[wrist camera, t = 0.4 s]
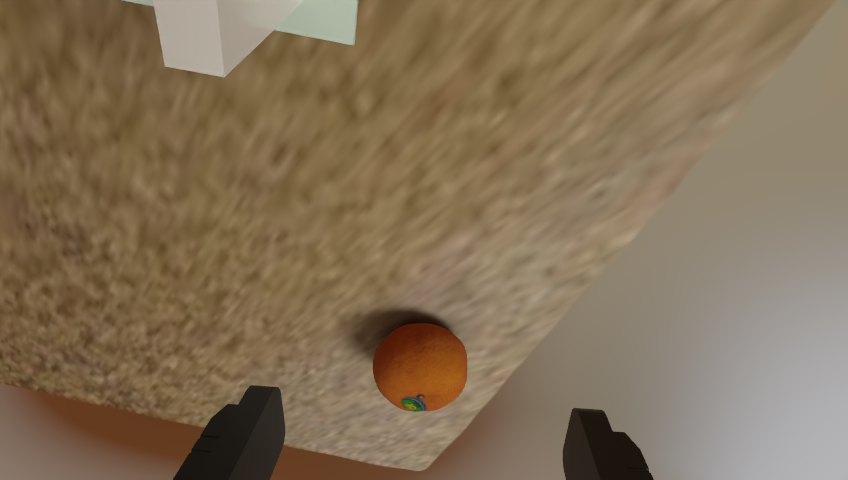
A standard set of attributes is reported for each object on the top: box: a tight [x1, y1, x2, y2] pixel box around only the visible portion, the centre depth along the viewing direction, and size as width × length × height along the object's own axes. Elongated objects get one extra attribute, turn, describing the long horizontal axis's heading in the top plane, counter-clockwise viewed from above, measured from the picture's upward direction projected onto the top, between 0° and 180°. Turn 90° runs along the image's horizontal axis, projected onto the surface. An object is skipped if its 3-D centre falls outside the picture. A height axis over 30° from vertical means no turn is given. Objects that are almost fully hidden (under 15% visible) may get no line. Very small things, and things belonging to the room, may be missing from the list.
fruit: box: [373, 323, 467, 412], centre depth 50 cm, size 11×10×8 cm
